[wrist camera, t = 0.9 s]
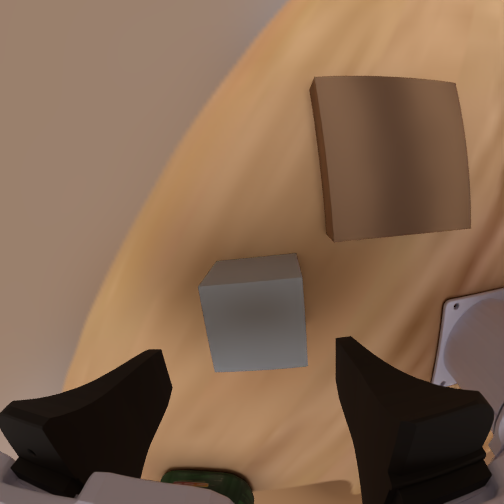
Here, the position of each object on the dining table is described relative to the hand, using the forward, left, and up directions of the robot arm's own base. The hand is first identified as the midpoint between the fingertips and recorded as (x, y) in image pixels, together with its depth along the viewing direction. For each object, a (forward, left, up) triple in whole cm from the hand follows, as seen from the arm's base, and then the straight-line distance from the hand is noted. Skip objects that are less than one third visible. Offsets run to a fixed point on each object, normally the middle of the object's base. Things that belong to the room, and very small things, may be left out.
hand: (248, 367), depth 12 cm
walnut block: (-9, -8, -9) cm, 15 cm away
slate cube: (0, 0, -8) cm, 8 cm away
